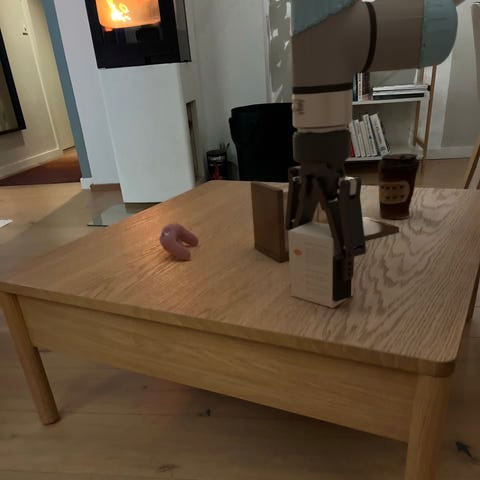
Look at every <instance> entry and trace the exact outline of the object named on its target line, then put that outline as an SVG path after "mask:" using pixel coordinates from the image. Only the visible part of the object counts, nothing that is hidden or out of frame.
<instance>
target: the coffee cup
mask: <svg viewBox="0 0 480 480" xmlns="http://www.w3.org/2000/svg"><path fill="white" fill-rule="evenodd" d="M417 157H418V154H415V153H394V154H393V153H392V154H385V155H382V157H381V160H380V161H379V162H378V166H377V167H378V169H377V170H378V203H379V204H378V205H379V216H380V217H381V218H385V219H393V220H394V219H395V220H397V219H398V220H399V219H407V218H409V217H411V216H410V215H411V213H410V205H411V203H412V198H413V196H414V194H415V193H414V192H415V187H416V179H417V173H418V171H419V168H420V164H421V162H420V160H419V159H417Z"/></svg>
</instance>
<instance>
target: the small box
mask: <svg viewBox="0 0 480 480" xmlns="http://www.w3.org/2000/svg"><path fill="white" fill-rule="evenodd" d="M288 239H289V261H288V263H289V281H290V282H289V283H290V296H291V297H295V298H297V299H301V300H305V301H308V302H311V303H315V304H317V305H320V306H325V307H328V308H331V309H334V308H335V307H337V306H339V305H340V304H342V303H343V302H345V301H346V300H348V299H349V298H346V299H343V300H340V301H337V302H335V301H333V300H332V287H333V256H336V255H337V253H336V249H335V246H334V240H333V238H332V235H331V231H330V227H329V224H323V223H317V222H309V223H306V224H304V225H301V226H299V227H297V228H294V229H292V230H289V231H288ZM344 249H345V246H344ZM353 272H354V273H353V278H352V281H351V297H352V296H354V294H355V270H354V271H353Z"/></svg>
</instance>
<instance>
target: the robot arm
mask: <svg viewBox="0 0 480 480" xmlns="http://www.w3.org/2000/svg"><path fill="white" fill-rule="evenodd" d="M465 1H466V0H373V1H366V0H365V1H364V0H290V14H289V15H290V16H289V17H290V18H289V19H290V20H289V22H290V23H289V32H288V37H289V41H290V69H291V94H292V104H291V110H292V126H293V127H294V128H295V129H297V130H296V131H294V133H293V134H292V153H293V154H292V155H293V157H292V158H293V160H294V162H296V163H298V164H300V165H298V166H297V165H296V166H291V167H288V168H287V179H288V183H289V187H288V197H287V208H286V218H285V229H286V230H287V231H288V230H292V229H294V228H297V227H299V226H301V225H304V224H306V223H309V222H312V220H313V217H314V214H315V211H316V208H317V204H318V202H319V203H320V206H321V209H322V210H323V211H325V213H326V216H327V220H328V224H329V227H330V231H331V235H332V238H333V240H334V246H335V249H336V253H337V255H336V256H333V287H332V300H333V301H335V302H337V301H340V300H343V299H346V298H348V299H349V298H352V296H351V281H352V278H353V273H354V274H355V257H359V256H363V255H365V254H366V253H367V245H366V241H365V236H364V227H363V218H364V217H363V211H362V210H363V209H362V202H361V192H362V179H361V177H359V176H357V177H351V178H352V179H351V178H349V177H350V176H347V173H346V171H345V162H346V160H348V159H349V158H351V154H352V130H350V128H349V127H348V125H350V124H352V122H353V92H354V91H353V88H354V83H353V80H354V78H353V77H354V74H358V75H359V74H365V73H375V72H377V73H378V72H392V71H403V70H404V71H405V70H414V69H415V70H418V71H420V70H422V69H423V68H431V67H437V66H439V65H441V64H443V63H444V62H445V61H446V60H447V59H448V58H449V56H450V54H451V53H452V51H453V49H454V46H455V43H456V40H457V35H458V26H459V15H458V9H457V7H459V6H460V5H461V4H463V3H464V2H465ZM336 198H337V199H338V200H337V201H334V200H335V199H336ZM331 201H332V202H331ZM292 220H294V221H293V222H292ZM344 246H345V249H344ZM353 271H354V272H353ZM346 300H347V299H346Z"/></svg>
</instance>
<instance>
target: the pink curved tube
mask: <svg viewBox="0 0 480 480" xmlns="http://www.w3.org/2000/svg"><path fill="white" fill-rule="evenodd" d="M158 238H159V243H160V245H161V247H162V248H163V249H164V251H165V252H167V253H169V254H171V255H172V256H173V257H175V258H177V259H178V260H179V259H180V260H183V261H189V260H190V259H191V257H192V254H191V251H190V250H189V249H188V248H187V247H185V245H184V244H186V245H188V246H195V247H197V246H198V245H199V238H198V237H197V236H196V234H194V233H192V232H191V231H190V230H187V229H186V228H185V227H184V226H183V225H181V224H179V223H178V221H177V222H175V223H169V224H167V225H166V226H164V227H163V228H162V230H161V235H160V236H159V237H158Z"/></svg>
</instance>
